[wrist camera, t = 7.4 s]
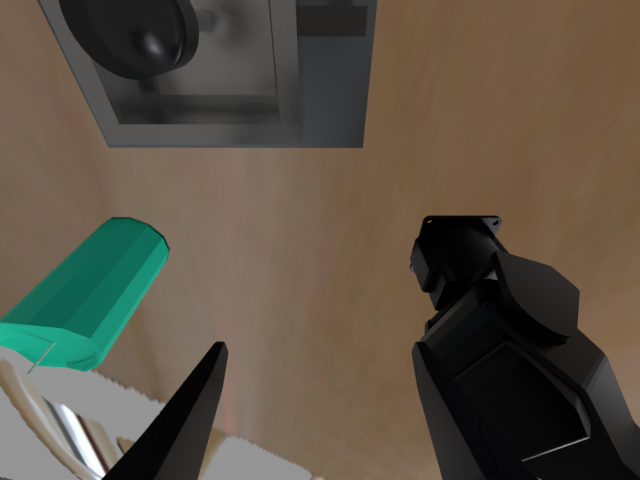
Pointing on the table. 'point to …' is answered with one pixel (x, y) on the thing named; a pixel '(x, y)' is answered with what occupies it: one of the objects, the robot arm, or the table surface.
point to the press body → (211, 110)
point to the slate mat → (317, 87)
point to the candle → (86, 297)
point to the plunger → (180, 43)
